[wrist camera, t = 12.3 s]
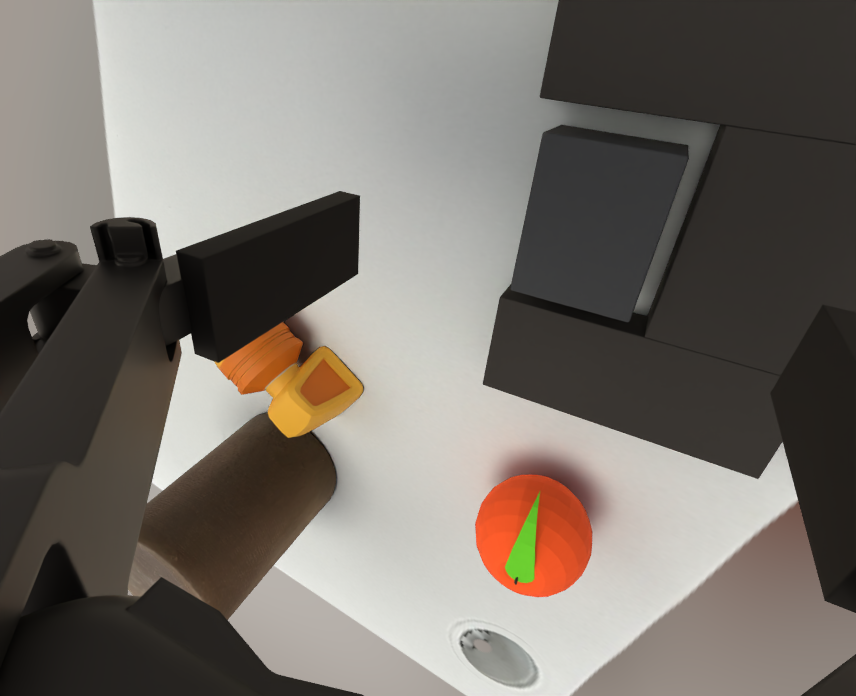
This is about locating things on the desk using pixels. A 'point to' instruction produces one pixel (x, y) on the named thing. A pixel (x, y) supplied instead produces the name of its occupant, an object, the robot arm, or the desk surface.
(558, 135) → the dark grey rectangular block
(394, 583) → the desk surface
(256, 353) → the yellow toy drill
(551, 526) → the clementine
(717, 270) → the black u-shaped block
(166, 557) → the pillar candle
